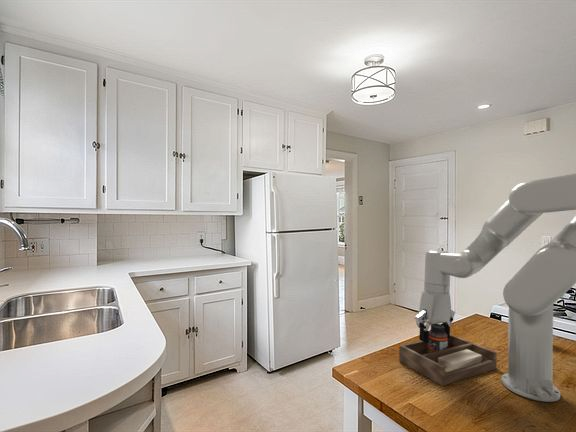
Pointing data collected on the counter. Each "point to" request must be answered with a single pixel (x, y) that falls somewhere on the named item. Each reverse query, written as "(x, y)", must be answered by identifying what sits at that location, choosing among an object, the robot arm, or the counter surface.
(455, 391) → the counter surface
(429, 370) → the walnut divided tray
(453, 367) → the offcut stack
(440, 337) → the supplement bottle
